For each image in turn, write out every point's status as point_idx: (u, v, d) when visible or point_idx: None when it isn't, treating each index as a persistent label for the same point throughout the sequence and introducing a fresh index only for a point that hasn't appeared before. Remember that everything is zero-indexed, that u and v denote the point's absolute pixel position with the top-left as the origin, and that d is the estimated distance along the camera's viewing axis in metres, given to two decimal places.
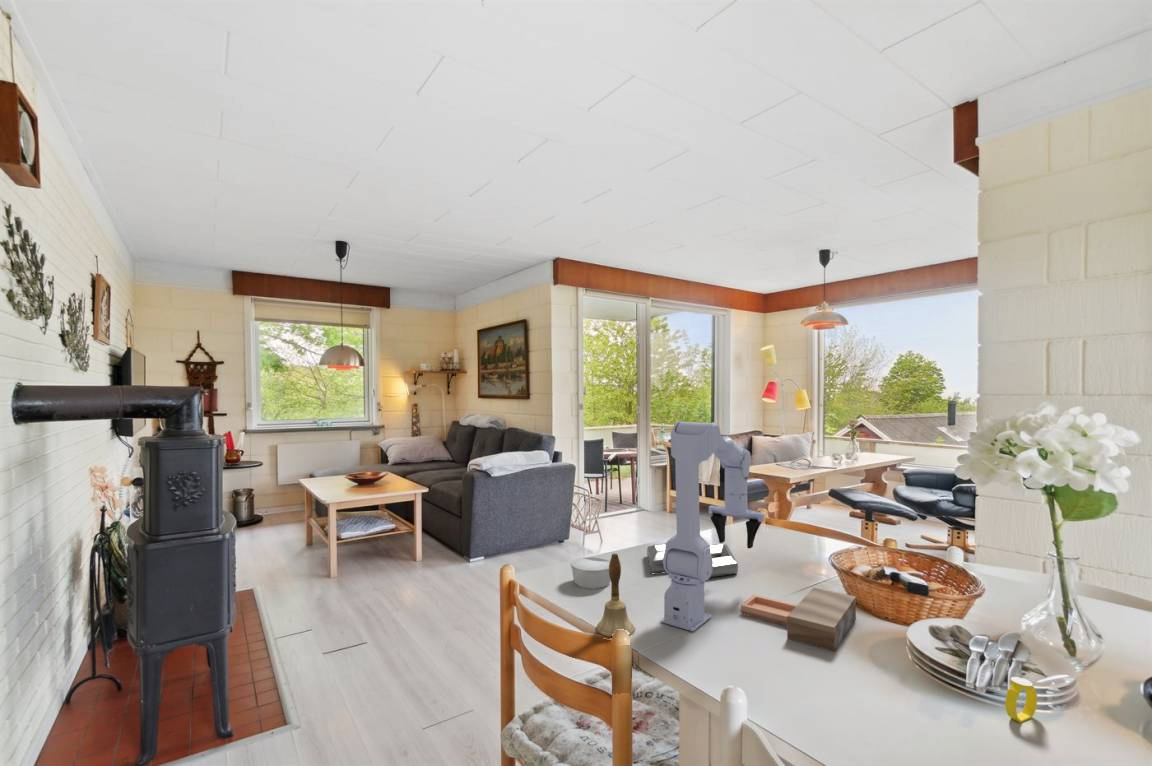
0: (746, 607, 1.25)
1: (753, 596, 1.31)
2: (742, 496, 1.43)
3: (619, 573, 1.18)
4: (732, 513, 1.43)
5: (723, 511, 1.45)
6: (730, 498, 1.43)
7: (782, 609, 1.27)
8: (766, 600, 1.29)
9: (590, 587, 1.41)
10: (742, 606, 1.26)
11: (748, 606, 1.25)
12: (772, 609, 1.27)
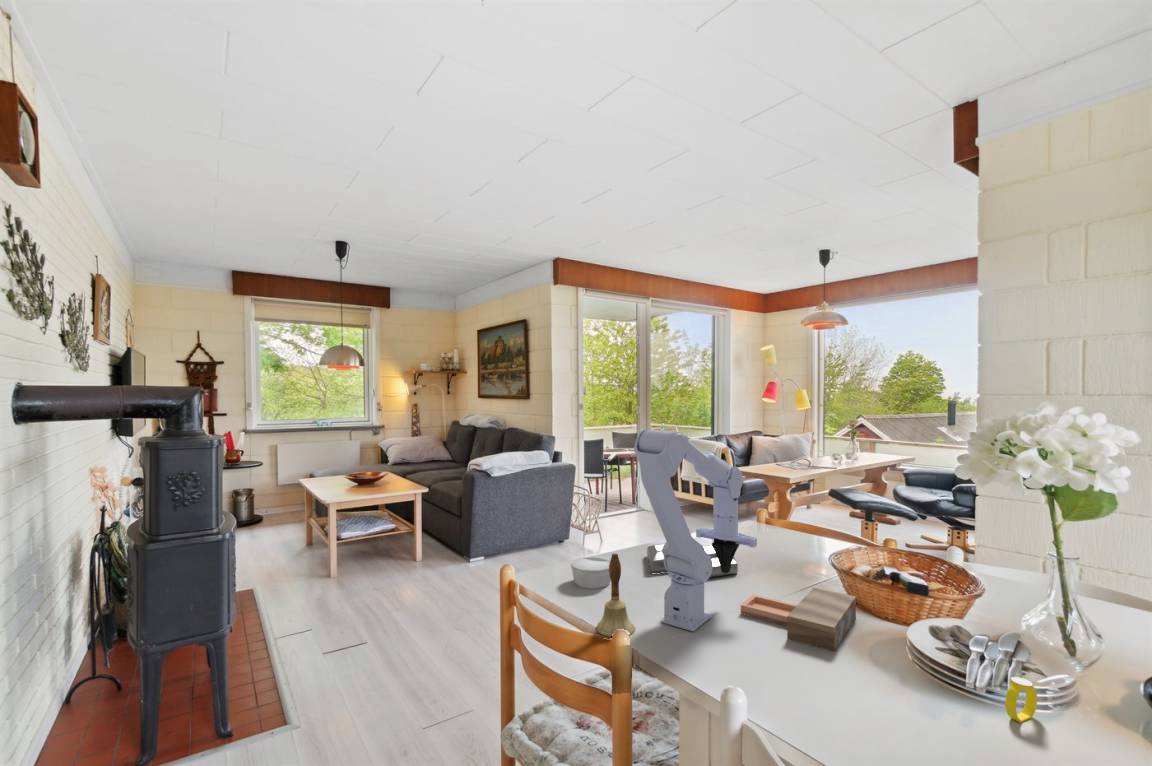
0: (746, 607, 1.25)
1: (753, 596, 1.31)
2: (732, 519, 1.30)
3: (619, 573, 1.18)
4: (721, 537, 1.30)
5: (712, 535, 1.32)
6: (719, 521, 1.30)
7: (782, 609, 1.27)
8: (766, 600, 1.29)
9: (590, 587, 1.41)
10: (742, 606, 1.26)
11: (748, 606, 1.25)
12: (772, 609, 1.27)
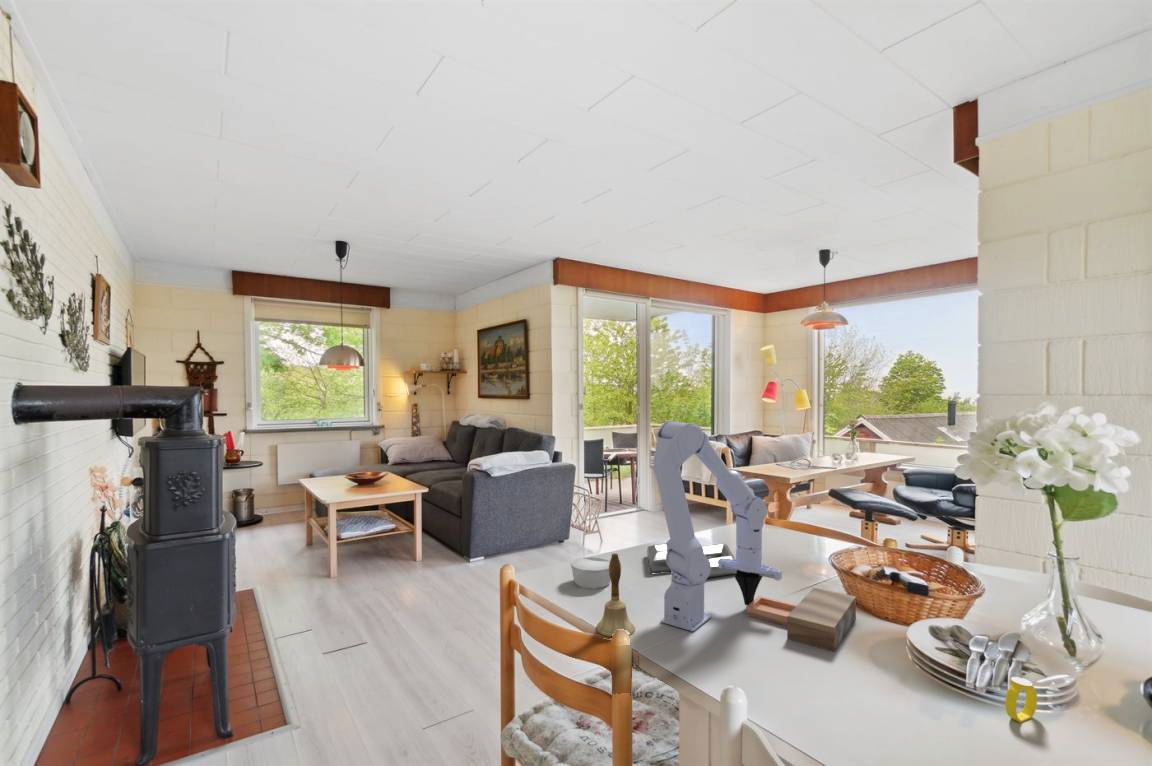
0: (752, 608, 1.24)
1: (758, 597, 1.30)
2: (756, 550, 1.26)
3: (619, 573, 1.18)
4: (745, 569, 1.26)
5: (735, 566, 1.29)
6: (743, 552, 1.27)
7: (788, 610, 1.26)
8: (772, 601, 1.29)
9: (590, 587, 1.41)
10: (748, 607, 1.25)
11: (754, 607, 1.25)
12: (778, 610, 1.26)
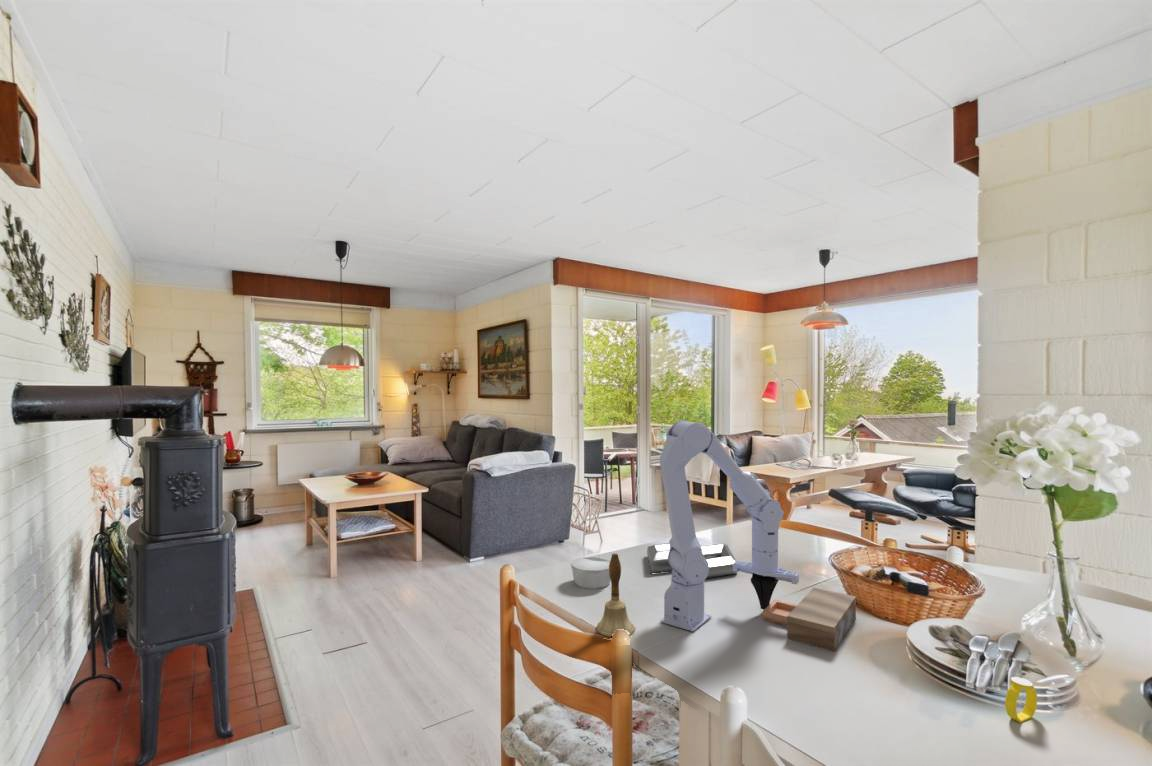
0: (768, 613, 1.22)
1: (774, 601, 1.28)
2: (773, 553, 1.24)
3: (619, 573, 1.18)
4: (761, 573, 1.24)
5: (750, 570, 1.26)
6: (759, 555, 1.25)
7: None
8: (788, 605, 1.26)
9: (590, 587, 1.41)
10: (764, 612, 1.23)
11: (770, 612, 1.22)
12: None
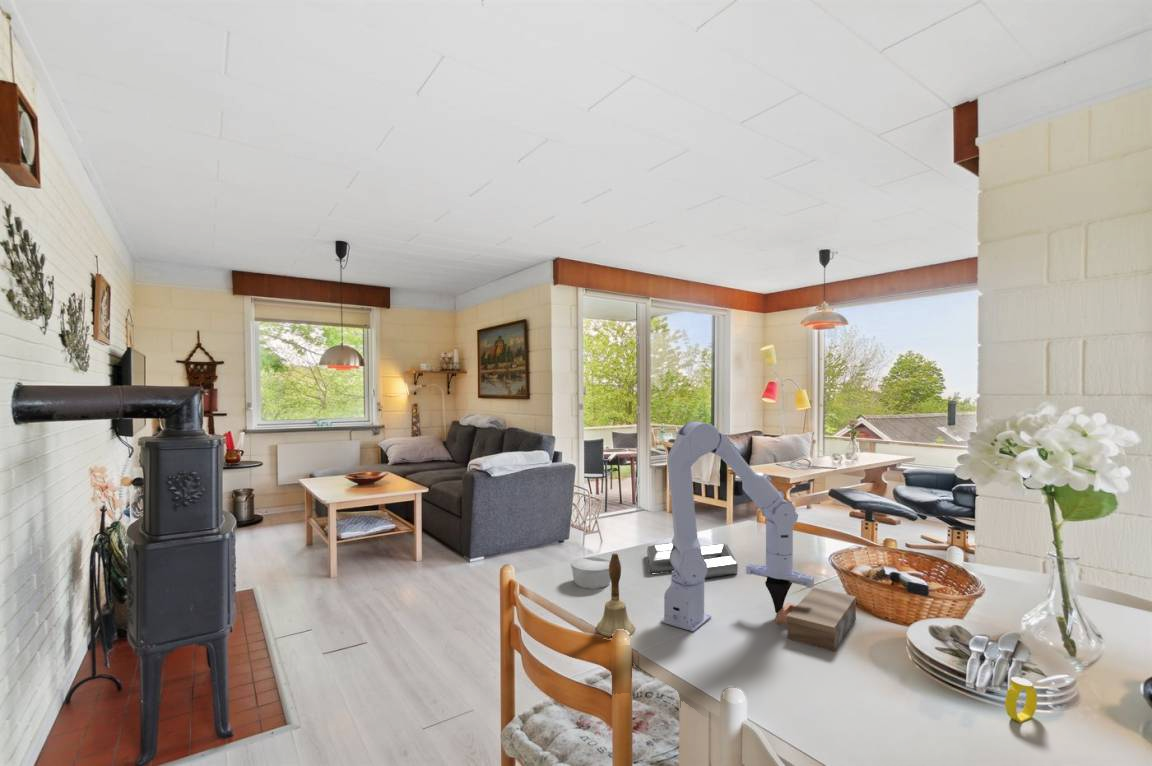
0: (782, 616, 1.20)
1: (787, 604, 1.26)
2: (787, 556, 1.22)
3: (619, 573, 1.18)
4: (776, 576, 1.22)
5: (764, 573, 1.24)
6: (773, 558, 1.23)
7: None
8: None
9: (590, 587, 1.41)
10: (778, 615, 1.21)
11: (784, 615, 1.20)
12: None
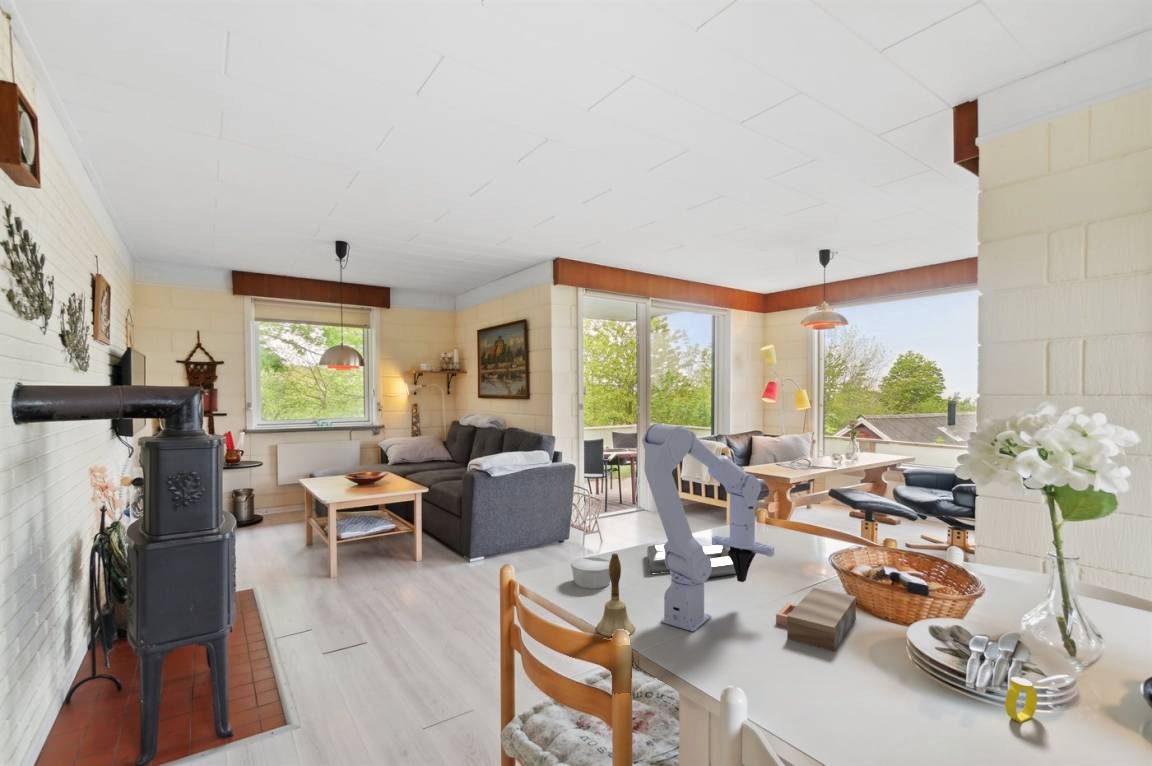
0: (782, 616, 1.20)
1: (787, 604, 1.26)
2: (749, 527, 1.28)
3: (619, 573, 1.18)
4: (738, 546, 1.29)
5: (728, 543, 1.31)
6: (736, 529, 1.29)
7: None
8: None
9: (590, 587, 1.41)
10: (777, 615, 1.21)
11: (784, 615, 1.20)
12: None
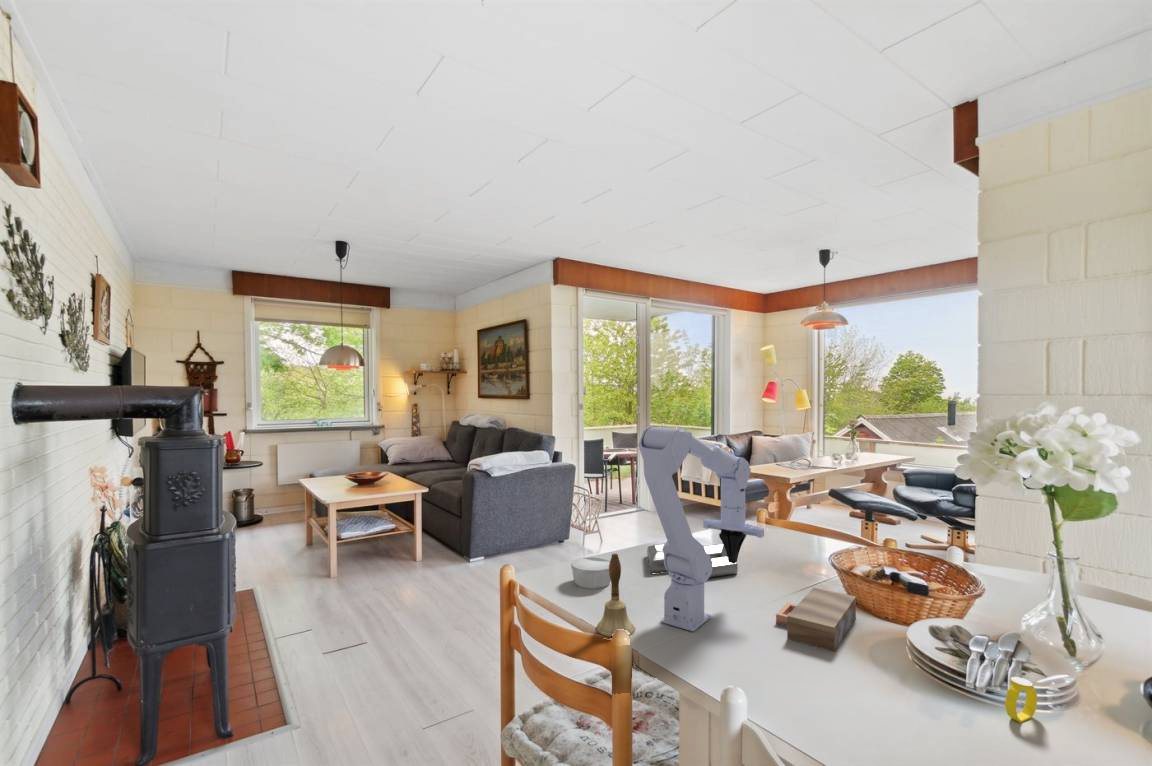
0: (782, 616, 1.20)
1: (787, 604, 1.26)
2: (740, 509, 1.31)
3: (619, 573, 1.18)
4: (729, 528, 1.31)
5: (719, 525, 1.33)
6: (726, 511, 1.31)
7: None
8: None
9: (590, 587, 1.41)
10: (777, 615, 1.21)
11: (784, 615, 1.20)
12: None
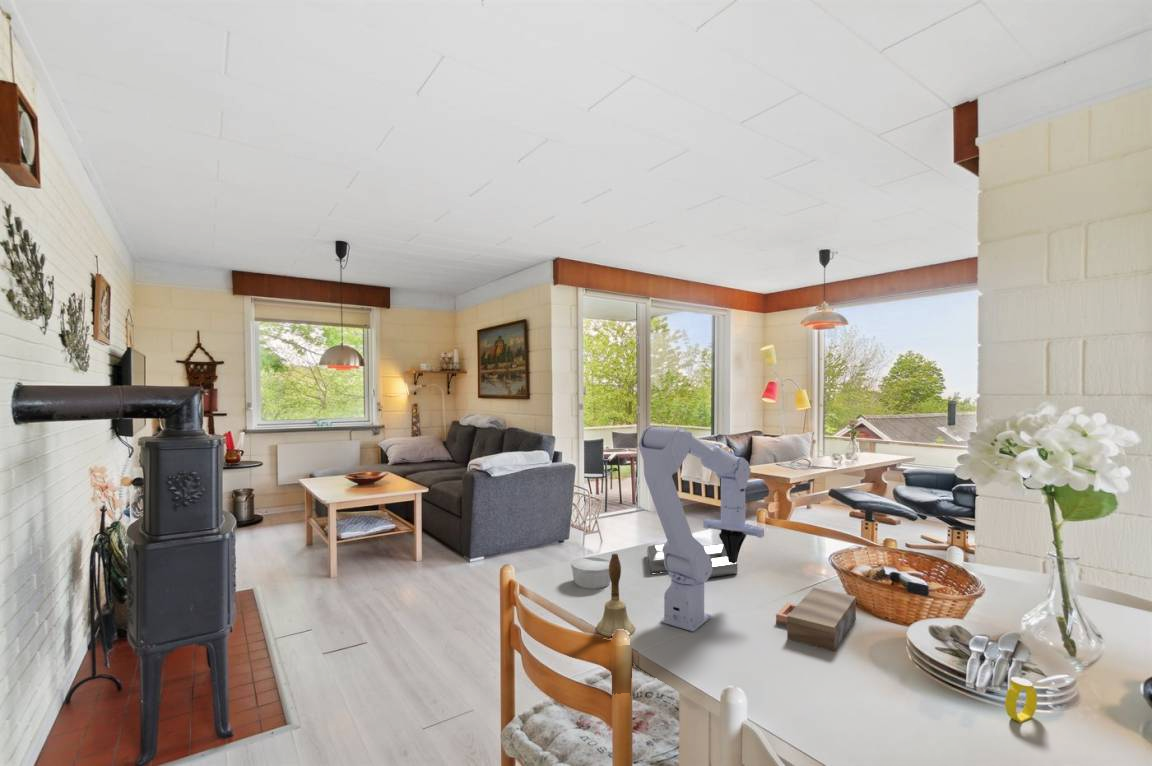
0: (782, 616, 1.20)
1: (787, 604, 1.26)
2: (740, 509, 1.31)
3: (619, 573, 1.18)
4: (729, 528, 1.31)
5: (719, 525, 1.33)
6: (726, 511, 1.31)
7: None
8: None
9: (590, 587, 1.41)
10: (777, 615, 1.21)
11: (784, 615, 1.20)
12: None
